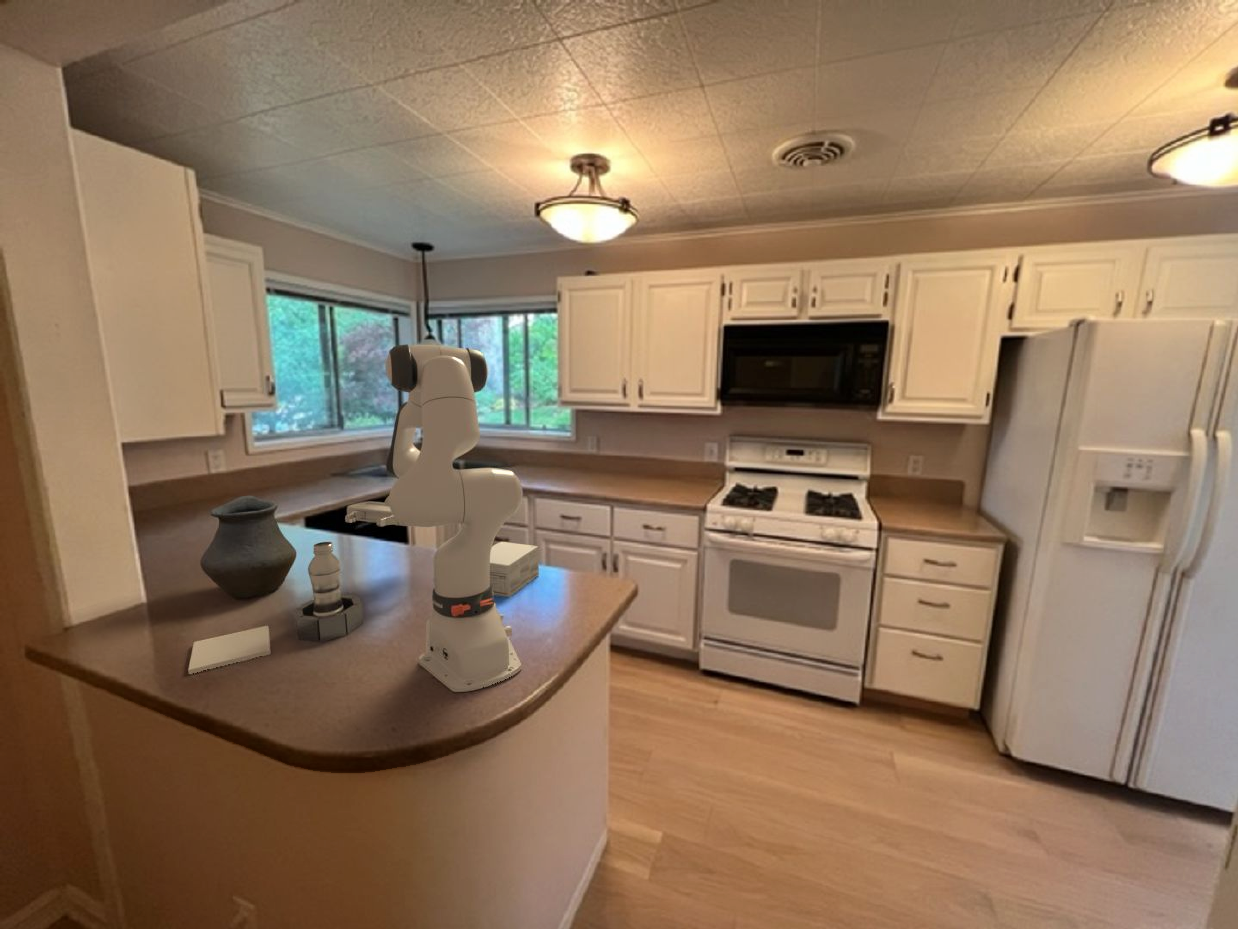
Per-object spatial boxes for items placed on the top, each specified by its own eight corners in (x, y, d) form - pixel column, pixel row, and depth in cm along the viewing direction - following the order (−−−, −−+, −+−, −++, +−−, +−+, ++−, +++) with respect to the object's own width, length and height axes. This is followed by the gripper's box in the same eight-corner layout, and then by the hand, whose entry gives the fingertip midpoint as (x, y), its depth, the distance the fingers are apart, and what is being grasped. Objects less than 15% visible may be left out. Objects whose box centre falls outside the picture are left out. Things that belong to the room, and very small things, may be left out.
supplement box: (501, 570, 153) (500, 540, 152) (539, 576, 149) (538, 545, 148) (467, 591, 138) (466, 558, 136) (509, 598, 133) (508, 564, 132)
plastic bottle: (352, 622, 118) (346, 541, 115) (329, 636, 112) (322, 550, 109) (330, 618, 120) (323, 538, 117) (306, 631, 114) (298, 547, 110)
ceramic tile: (270, 654, 104) (270, 649, 104) (188, 674, 96) (188, 670, 96) (268, 629, 114) (268, 625, 114) (194, 646, 107) (194, 642, 107)
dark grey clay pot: (202, 615, 121) (189, 515, 117) (207, 586, 138) (197, 498, 134) (302, 595, 133) (293, 503, 129) (296, 570, 150) (288, 489, 146)
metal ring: (366, 630, 115) (364, 609, 114) (299, 647, 107) (296, 625, 106) (356, 609, 125) (354, 590, 124) (294, 623, 117) (292, 603, 117)
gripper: (369, 493, 140) (328, 505, 126) (432, 500, 134) (396, 512, 121) (370, 515, 141) (330, 529, 127) (433, 522, 135) (397, 537, 122)
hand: (362, 521), depth 124 cm, fingers open, 8 cm apart
